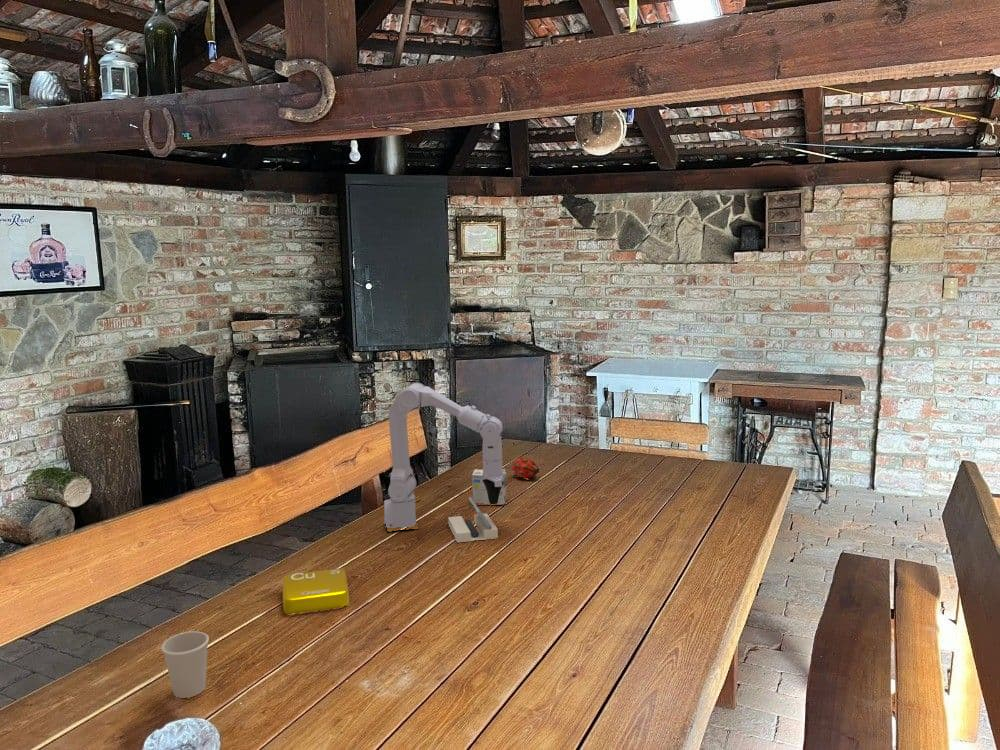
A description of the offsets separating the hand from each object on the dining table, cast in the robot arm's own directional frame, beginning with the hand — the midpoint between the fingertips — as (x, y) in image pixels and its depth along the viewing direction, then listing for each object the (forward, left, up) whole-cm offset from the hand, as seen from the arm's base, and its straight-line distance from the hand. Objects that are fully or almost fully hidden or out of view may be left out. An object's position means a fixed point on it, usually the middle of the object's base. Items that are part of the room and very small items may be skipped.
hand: (493, 503), depth 223 cm
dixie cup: (-76, -65, -9) cm, 100 cm away
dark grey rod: (-7, 0, -7) cm, 10 cm away
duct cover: (-4, 0, -3) cm, 5 cm away
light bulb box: (+4, +25, -9) cm, 27 cm away
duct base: (-7, 0, -8) cm, 11 cm away
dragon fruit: (+23, +48, -9) cm, 54 cm away
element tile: (-52, -31, -9) cm, 61 cm away
